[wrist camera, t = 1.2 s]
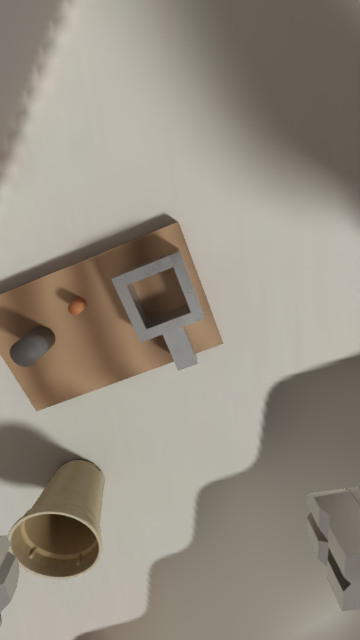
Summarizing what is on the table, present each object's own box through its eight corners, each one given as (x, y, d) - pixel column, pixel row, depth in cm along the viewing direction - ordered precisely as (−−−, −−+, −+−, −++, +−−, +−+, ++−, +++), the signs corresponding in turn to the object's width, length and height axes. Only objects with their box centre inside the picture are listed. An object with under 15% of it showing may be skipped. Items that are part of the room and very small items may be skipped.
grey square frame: (117, 273, 29) (111, 279, 26) (179, 248, 28) (179, 251, 25) (158, 364, 32) (157, 378, 29) (215, 343, 31) (219, 355, 28)
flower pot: (30, 457, 37) (-11, 524, 29) (102, 440, 36) (82, 503, 28) (59, 511, 40) (29, 587, 31) (126, 496, 39) (114, 569, 31)
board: (177, 221, 29) (179, 221, 23) (220, 338, 32) (230, 360, 27) (-21, 302, 31) (-62, 319, 25) (42, 403, 34) (18, 436, 29)
